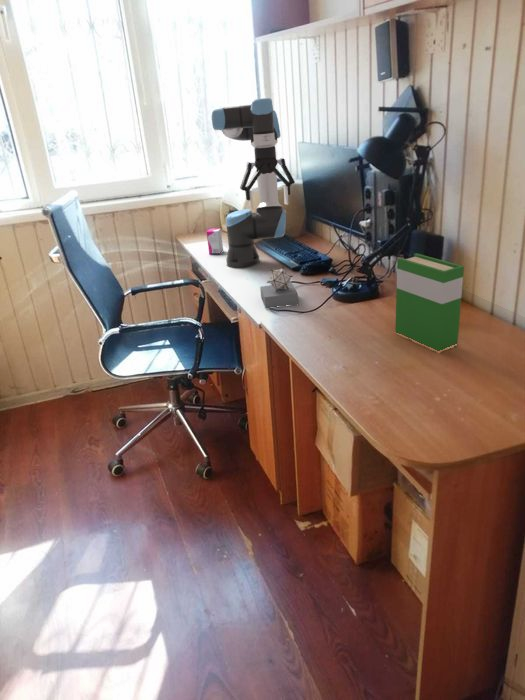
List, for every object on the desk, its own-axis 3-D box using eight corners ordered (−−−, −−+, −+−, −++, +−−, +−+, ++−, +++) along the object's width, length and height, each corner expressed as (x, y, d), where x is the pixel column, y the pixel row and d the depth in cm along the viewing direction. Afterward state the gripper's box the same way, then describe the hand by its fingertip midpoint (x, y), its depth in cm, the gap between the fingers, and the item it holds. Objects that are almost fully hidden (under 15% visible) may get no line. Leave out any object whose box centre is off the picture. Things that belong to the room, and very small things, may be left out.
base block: (261, 299, 206) (260, 286, 204) (292, 295, 207) (291, 282, 205) (265, 310, 196) (264, 297, 193) (298, 306, 197) (297, 293, 194)
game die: (285, 299, 200) (292, 283, 192) (263, 293, 199) (269, 276, 191) (289, 281, 205) (296, 264, 196) (267, 275, 204) (273, 258, 196)
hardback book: (395, 334, 168) (397, 258, 157) (413, 327, 171) (416, 253, 160) (438, 353, 154) (444, 272, 143) (457, 346, 157) (464, 266, 146)
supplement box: (223, 251, 270) (221, 228, 265) (220, 254, 265) (217, 231, 260) (212, 251, 272) (209, 228, 267) (208, 254, 267) (206, 231, 262)
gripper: (232, 151, 188) (238, 212, 197) (301, 143, 193) (304, 203, 202) (228, 149, 194) (234, 209, 203) (294, 141, 199) (297, 200, 209)
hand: (269, 206), depth 203 cm, fingers open, 13 cm apart
